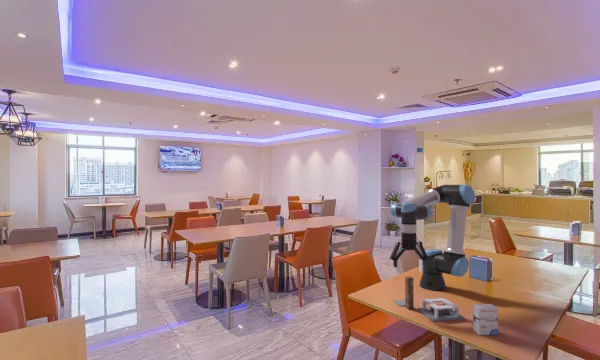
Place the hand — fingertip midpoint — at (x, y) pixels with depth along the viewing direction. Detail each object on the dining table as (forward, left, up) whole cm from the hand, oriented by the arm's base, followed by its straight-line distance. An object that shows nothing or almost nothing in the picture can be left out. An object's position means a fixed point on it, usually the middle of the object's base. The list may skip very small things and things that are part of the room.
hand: (408, 272), depth 168 cm
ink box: (-19, +31, -19) cm, 41 cm away
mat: (0, -7, -18) cm, 20 cm away
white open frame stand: (-11, +10, -18) cm, 24 cm away
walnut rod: (0, 0, -18) cm, 18 cm away
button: (-11, +10, -16) cm, 22 cm away
